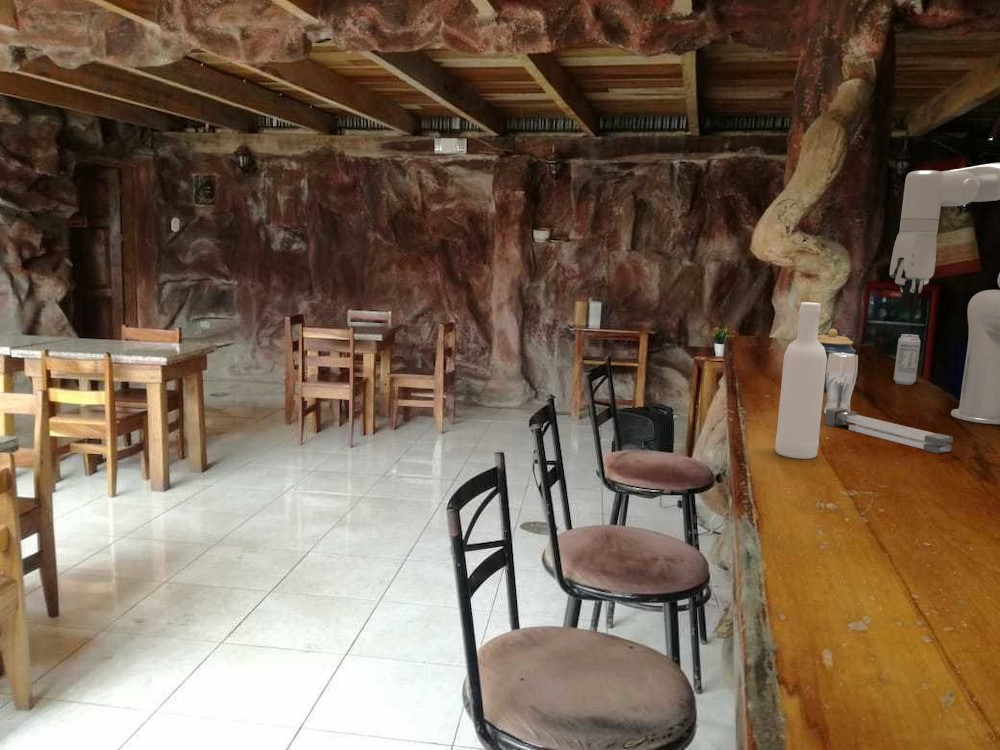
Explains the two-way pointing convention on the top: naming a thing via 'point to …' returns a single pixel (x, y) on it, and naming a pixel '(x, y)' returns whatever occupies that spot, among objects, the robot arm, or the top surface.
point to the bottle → (802, 389)
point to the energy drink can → (907, 359)
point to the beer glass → (840, 379)
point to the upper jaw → (893, 428)
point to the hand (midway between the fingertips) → (908, 310)
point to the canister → (835, 345)
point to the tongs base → (884, 433)
